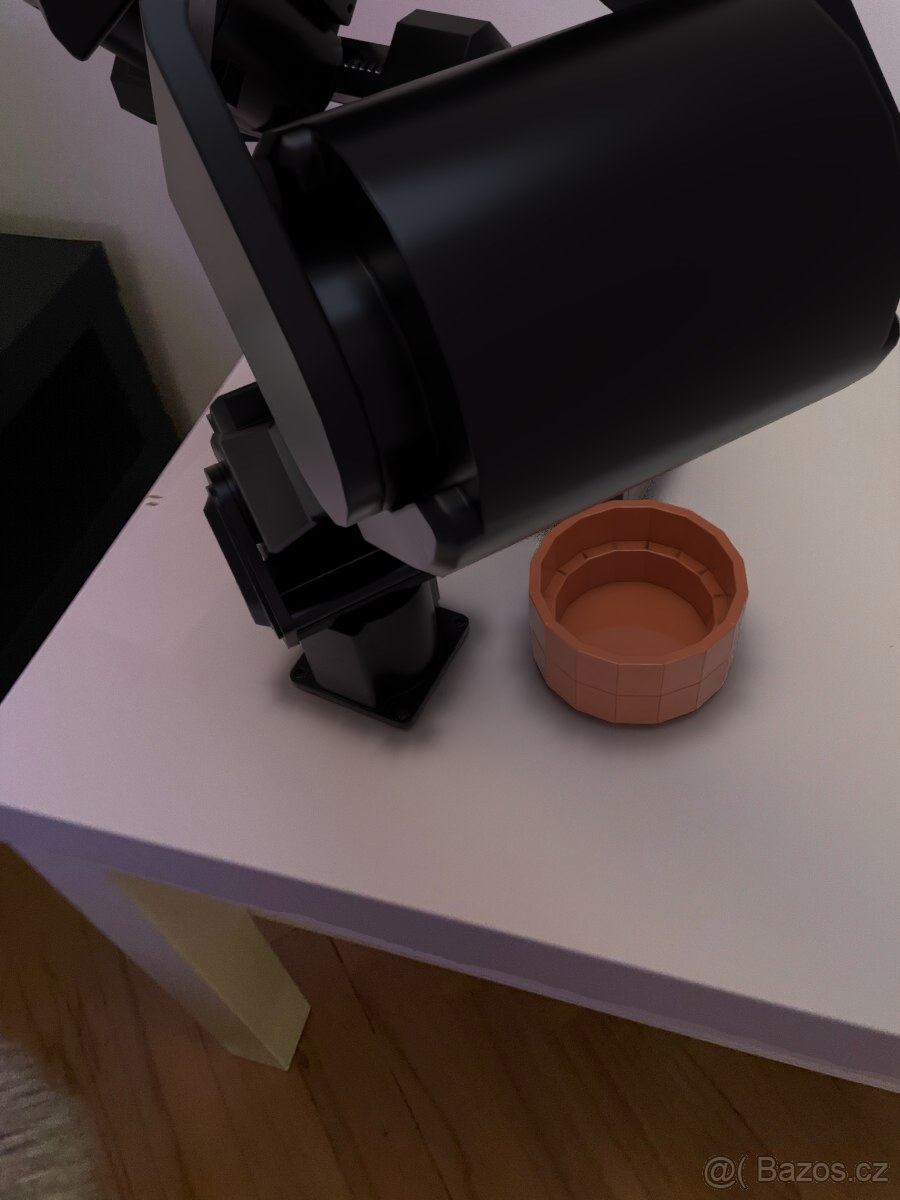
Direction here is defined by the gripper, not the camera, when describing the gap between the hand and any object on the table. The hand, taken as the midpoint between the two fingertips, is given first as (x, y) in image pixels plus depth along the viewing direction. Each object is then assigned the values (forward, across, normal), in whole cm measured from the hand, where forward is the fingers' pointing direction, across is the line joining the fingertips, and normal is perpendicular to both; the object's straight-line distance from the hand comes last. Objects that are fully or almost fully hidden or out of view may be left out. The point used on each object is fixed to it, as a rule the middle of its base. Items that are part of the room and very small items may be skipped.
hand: (400, 150), depth 47 cm
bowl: (+1, -20, +18) cm, 27 cm away
